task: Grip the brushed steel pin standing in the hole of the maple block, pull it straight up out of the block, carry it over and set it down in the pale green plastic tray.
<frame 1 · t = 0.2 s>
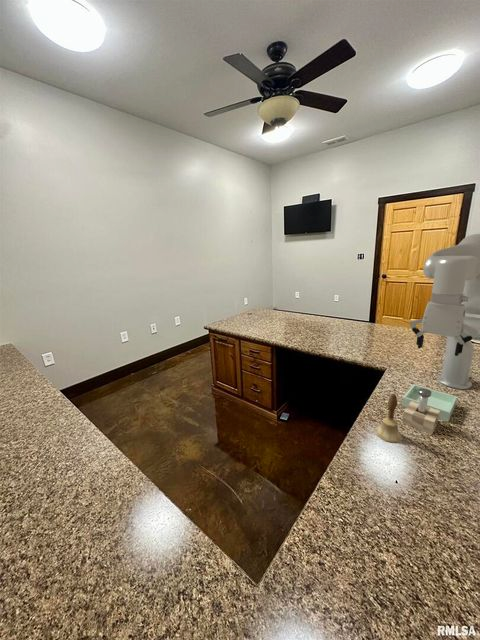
hand: (437, 350, 83), 30 cm above the countertop, tool pointing down, fingers open, 9 cm apart
hitch block: (420, 422, 94), on the countertop
steel pin: (422, 407, 92), in the hitch block
tray: (428, 405, 103), on the countertop
hand bell: (388, 434, 90), on the countertop
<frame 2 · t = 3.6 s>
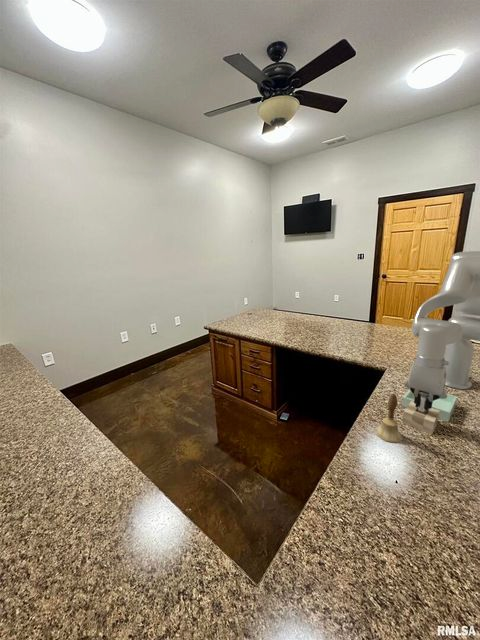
hand: (422, 407, 92), 7 cm above the countertop, tool pointing down, fingers closed on steel pin, 2 cm apart
steel pin: (422, 407, 92), in the hitch block, touching gripper
everything else where it was.
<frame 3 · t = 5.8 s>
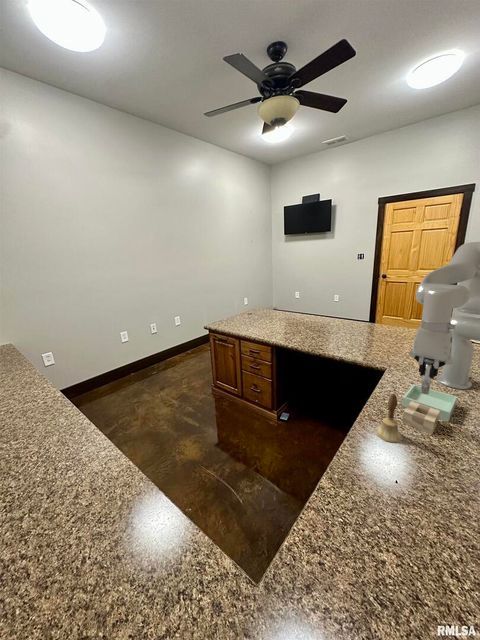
hand: (427, 375, 89), 19 cm above the countertop, tool pointing down, fingers closed on steel pin, 2 cm apart
steel pin: (427, 375, 89), point 19 cm above the countertop, touching gripper
everything else where it was.
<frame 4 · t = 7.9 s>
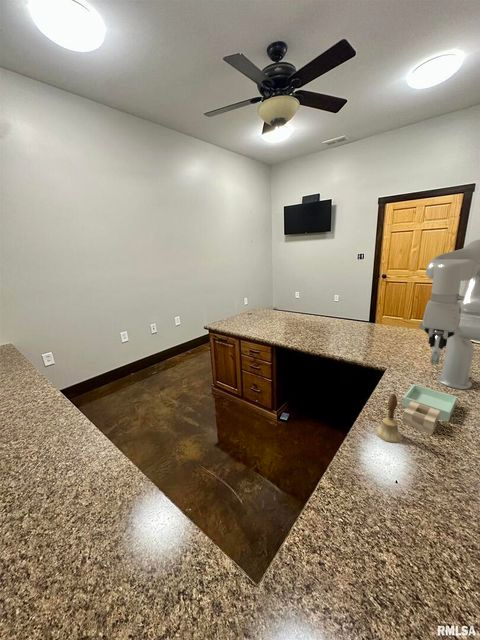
hand: (436, 346, 95), 26 cm above the countertop, tool pointing down, fingers closed on steel pin, 2 cm apart
steel pin: (436, 346, 95), point 26 cm above the countertop, touching gripper
everything else where it was.
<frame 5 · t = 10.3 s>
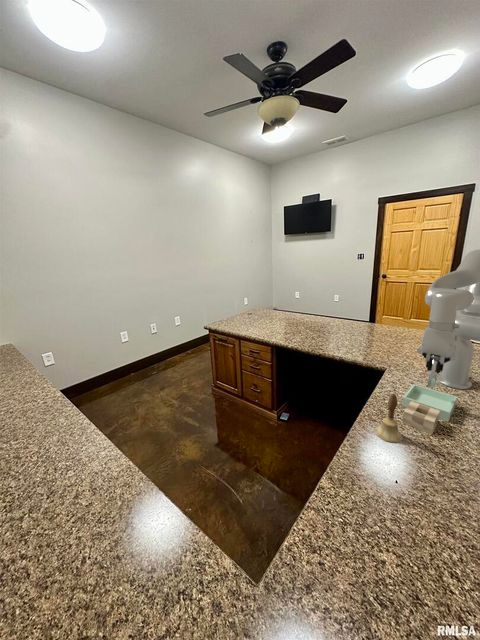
hand: (433, 370, 99), 16 cm above the countertop, tool pointing down, fingers closed on steel pin, 2 cm apart
steel pin: (433, 370, 99), point 16 cm above the countertop, touching gripper
everything else where it was.
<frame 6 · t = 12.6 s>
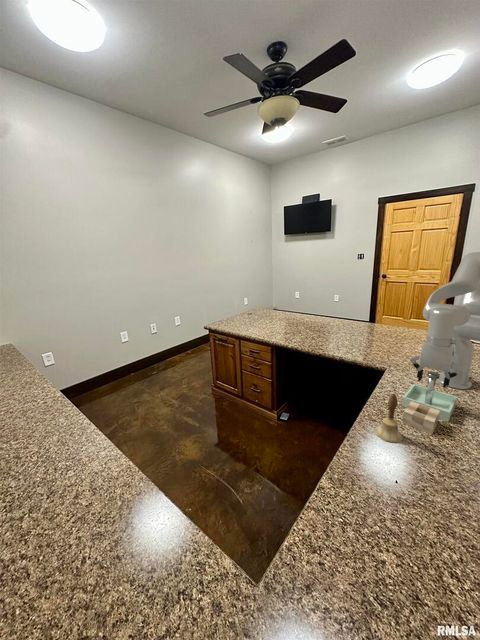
hand: (432, 382, 101), 10 cm above the countertop, tool pointing down, fingers open, 7 cm apart
steel pin: (430, 388, 102), in the tray, point 8 cm above the countertop
everything else where it was.
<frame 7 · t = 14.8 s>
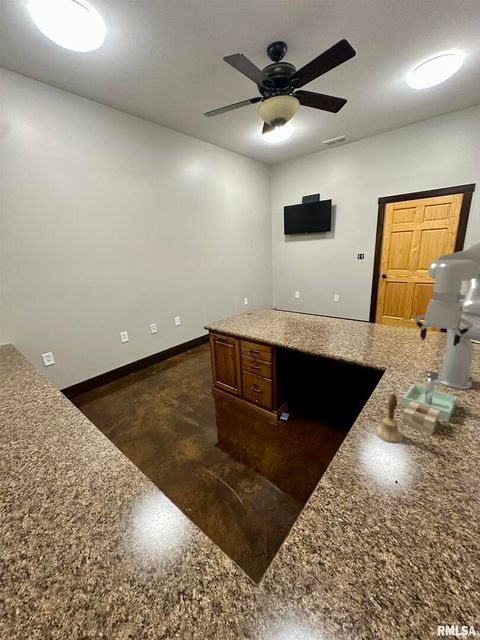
hand: (438, 341, 96), 27 cm above the countertop, tool pointing down, fingers open, 9 cm apart
nothing on the countertop moved.
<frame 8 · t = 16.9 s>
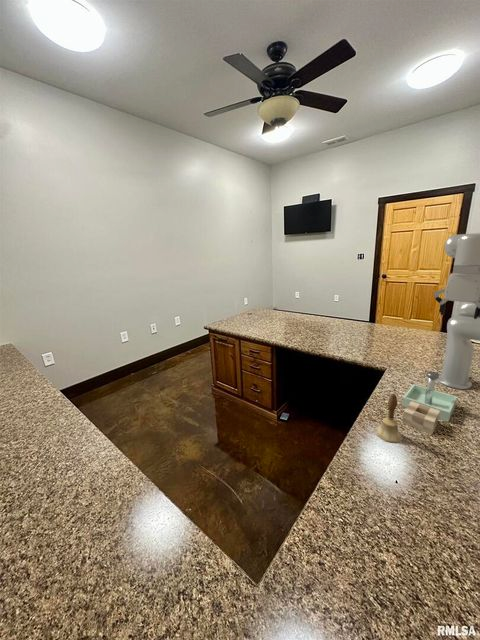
hand: (458, 316, 96), 36 cm above the countertop, tool pointing down, fingers open, 9 cm apart
nothing on the countertop moved.
at the end: steel pin inside the target area on the tray (0.3 cm from its centre), point 7.6 cm above the tray's base; the gripper is holding nothing; steel pin moved 14.1 cm from its start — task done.
